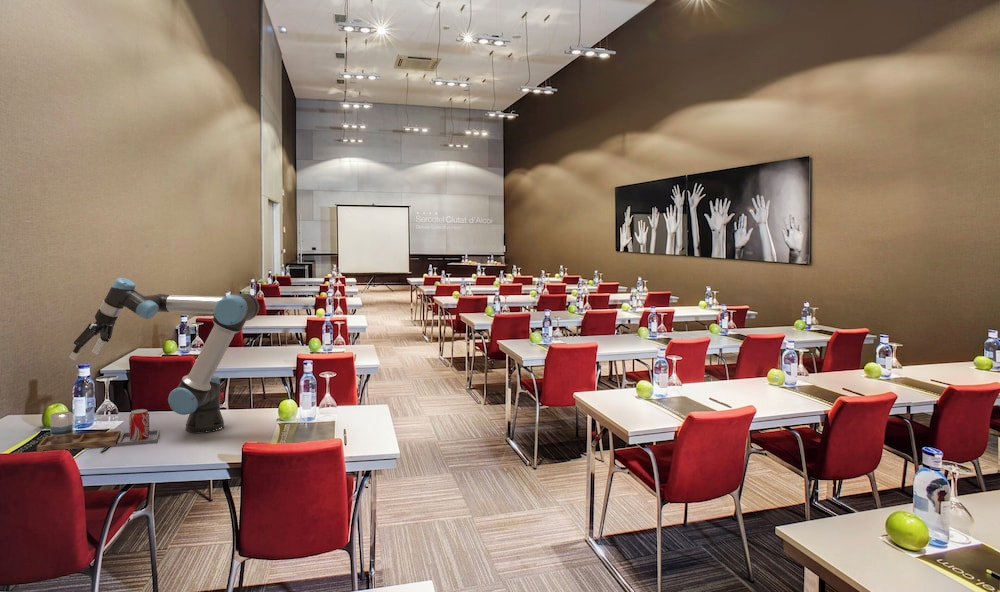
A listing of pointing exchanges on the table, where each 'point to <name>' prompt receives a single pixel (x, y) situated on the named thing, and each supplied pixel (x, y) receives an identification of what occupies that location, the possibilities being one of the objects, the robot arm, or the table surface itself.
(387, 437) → the table surface
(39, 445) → the caddy
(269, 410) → the table surface
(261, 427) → the table surface
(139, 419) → the soda can
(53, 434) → the translucent grey rounded cylinder
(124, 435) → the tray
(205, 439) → the table surface
